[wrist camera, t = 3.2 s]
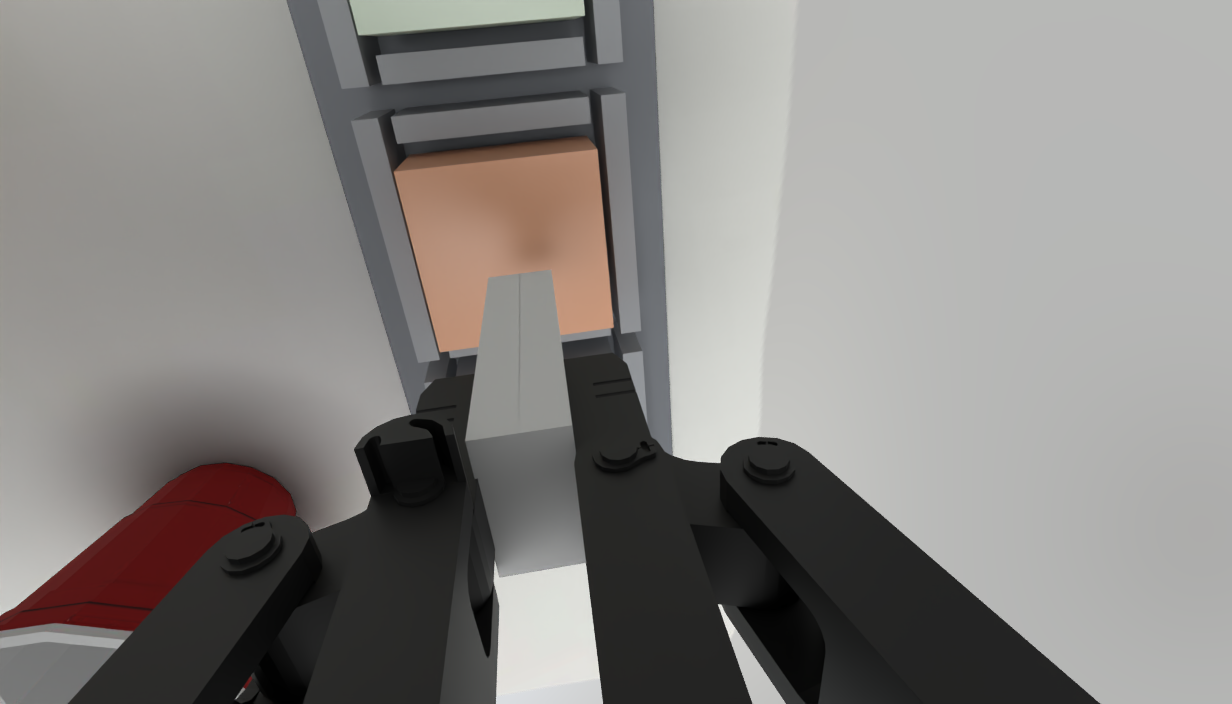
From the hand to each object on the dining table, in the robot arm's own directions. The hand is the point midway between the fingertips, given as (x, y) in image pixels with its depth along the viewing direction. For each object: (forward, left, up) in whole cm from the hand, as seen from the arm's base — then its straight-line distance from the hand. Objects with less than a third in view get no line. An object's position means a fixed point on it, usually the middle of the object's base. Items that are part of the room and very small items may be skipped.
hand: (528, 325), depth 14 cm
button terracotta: (0, 0, -8) cm, 8 cm away
